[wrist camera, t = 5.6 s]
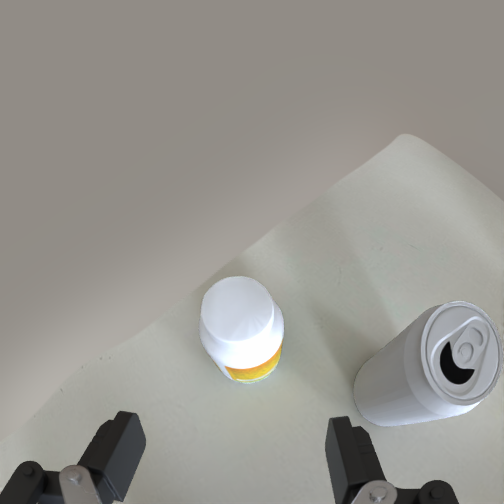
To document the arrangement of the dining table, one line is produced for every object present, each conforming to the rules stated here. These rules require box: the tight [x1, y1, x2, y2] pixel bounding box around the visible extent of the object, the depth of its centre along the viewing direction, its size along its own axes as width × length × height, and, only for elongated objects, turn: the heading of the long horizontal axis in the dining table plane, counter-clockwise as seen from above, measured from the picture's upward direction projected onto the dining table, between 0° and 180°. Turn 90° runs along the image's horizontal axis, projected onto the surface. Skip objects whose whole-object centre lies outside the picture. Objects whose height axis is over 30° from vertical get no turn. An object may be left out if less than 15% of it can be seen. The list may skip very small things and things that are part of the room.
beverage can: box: [353, 301, 503, 427], centre depth 17 cm, size 6×6×12 cm
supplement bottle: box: [199, 276, 284, 383], centre depth 20 cm, size 5×5×10 cm
